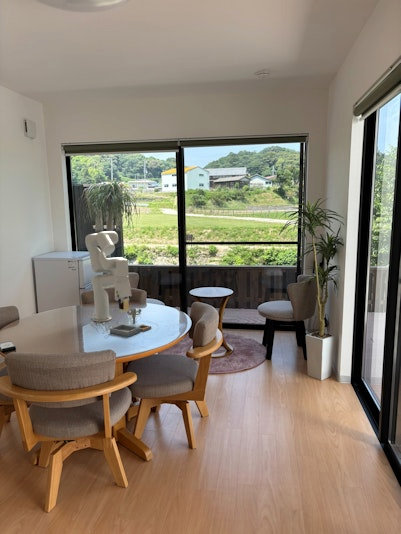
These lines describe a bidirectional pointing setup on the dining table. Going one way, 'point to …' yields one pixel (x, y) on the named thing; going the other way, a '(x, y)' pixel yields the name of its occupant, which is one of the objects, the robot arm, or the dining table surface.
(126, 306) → the block
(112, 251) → the robot arm
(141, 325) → the brown flat square frame
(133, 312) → the mechanical component
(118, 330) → the parts tray
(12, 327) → the dining table surface
